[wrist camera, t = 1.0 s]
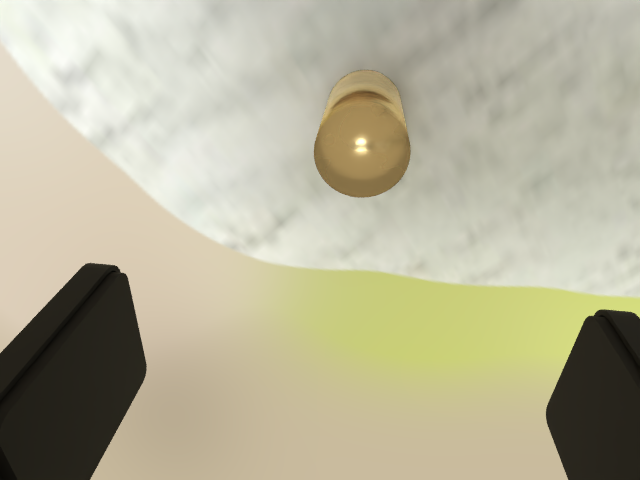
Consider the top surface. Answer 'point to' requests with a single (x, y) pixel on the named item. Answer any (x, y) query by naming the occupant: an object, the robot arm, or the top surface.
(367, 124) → the brass cylinder
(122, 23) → the top surface
